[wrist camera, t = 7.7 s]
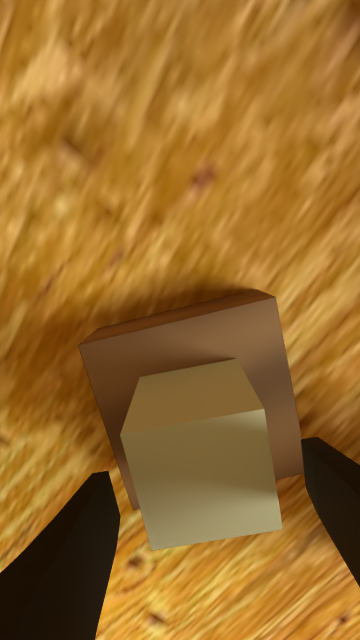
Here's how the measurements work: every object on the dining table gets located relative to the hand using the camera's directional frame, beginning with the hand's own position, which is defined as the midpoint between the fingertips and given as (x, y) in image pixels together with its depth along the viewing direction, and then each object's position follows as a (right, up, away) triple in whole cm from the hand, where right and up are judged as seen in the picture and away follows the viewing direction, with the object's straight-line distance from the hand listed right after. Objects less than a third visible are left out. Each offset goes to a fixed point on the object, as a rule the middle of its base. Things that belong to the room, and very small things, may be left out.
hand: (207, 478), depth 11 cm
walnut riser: (0, +2, +9) cm, 9 cm away
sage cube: (0, +1, +5) cm, 5 cm away
